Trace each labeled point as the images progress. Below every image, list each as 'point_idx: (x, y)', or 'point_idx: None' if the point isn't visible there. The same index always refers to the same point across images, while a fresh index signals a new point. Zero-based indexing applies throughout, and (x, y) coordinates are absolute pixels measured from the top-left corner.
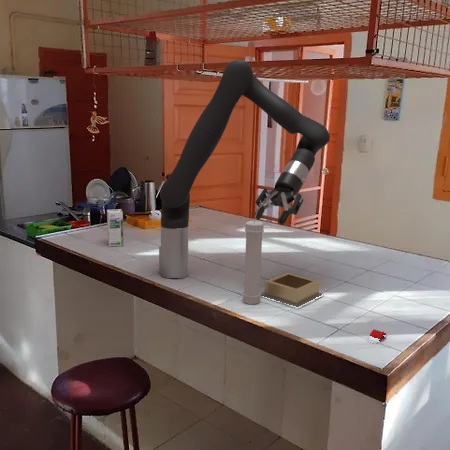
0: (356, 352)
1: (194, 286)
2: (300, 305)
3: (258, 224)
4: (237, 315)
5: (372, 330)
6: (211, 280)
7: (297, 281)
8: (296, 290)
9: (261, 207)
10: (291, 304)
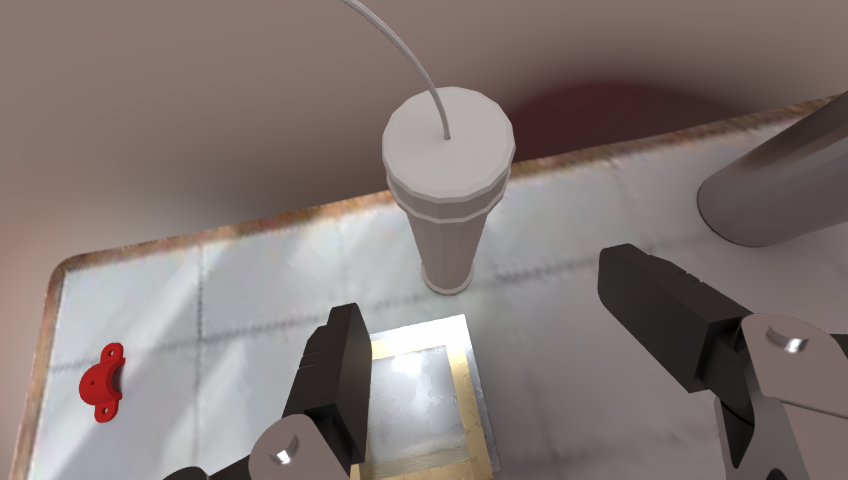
0: (124, 282)
1: (618, 207)
2: None
3: (390, 129)
4: None
5: (106, 375)
6: None
7: (429, 462)
8: None
9: (697, 316)
10: None
